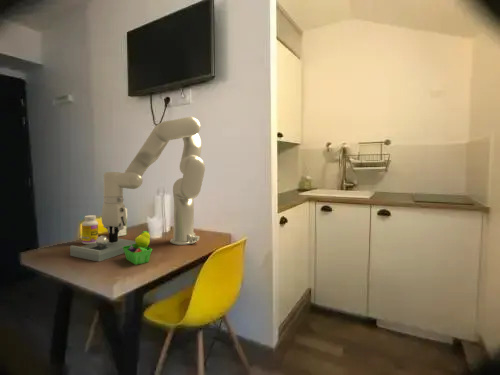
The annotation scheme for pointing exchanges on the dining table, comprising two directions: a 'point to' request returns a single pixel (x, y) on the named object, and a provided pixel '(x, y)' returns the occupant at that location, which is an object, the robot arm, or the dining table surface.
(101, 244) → the ball
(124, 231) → the syrup box
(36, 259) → the dining table surface
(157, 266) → the dining table surface
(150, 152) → the robot arm
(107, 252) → the board
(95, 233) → the supplement bottle
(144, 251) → the fruit basket
